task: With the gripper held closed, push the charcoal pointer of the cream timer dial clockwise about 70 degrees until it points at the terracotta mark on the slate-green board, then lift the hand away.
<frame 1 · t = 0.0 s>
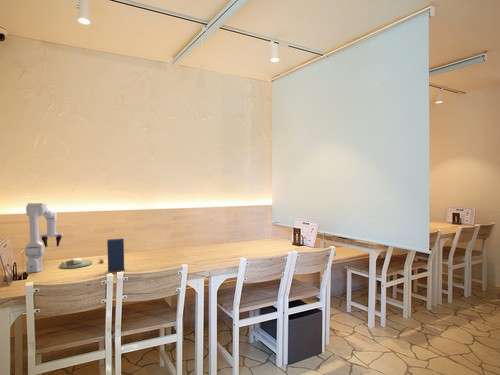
hand: (52, 246, 234), 10 cm above the table, fingers open, 7 cm apart
dial board: (76, 264, 220), on the table
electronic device: (116, 270, 205), on the table
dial: (73, 261, 218), point 3 cm above the table, hinge at 0.0°
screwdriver: (101, 261, 228), on the table
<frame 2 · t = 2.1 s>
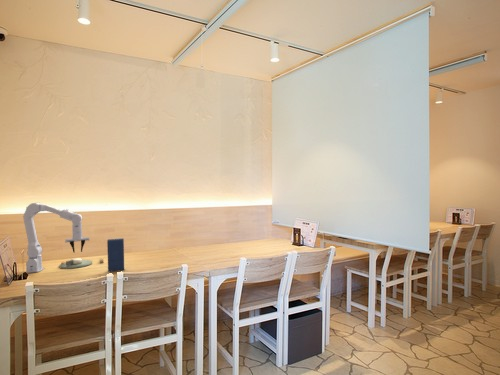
hand: (77, 252, 215), 10 cm above the table, fingers open, 4 cm apart
nothing on the table moved.
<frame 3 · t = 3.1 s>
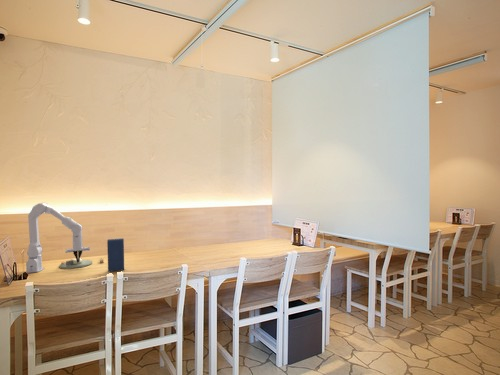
hand: (78, 262, 215), 3 cm above the table, fingers closed
nothing on the table moved.
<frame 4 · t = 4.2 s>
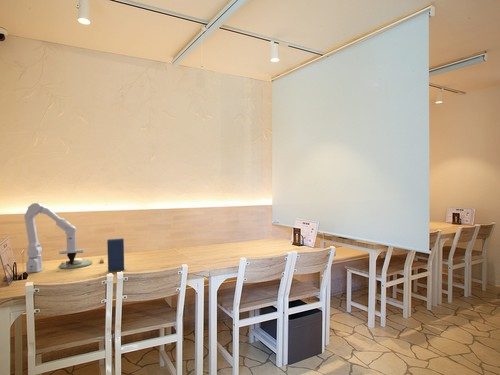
hand: (72, 264, 214), 2 cm above the table, fingers closed, pressing on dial
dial: (73, 261, 218), point 3 cm above the table, hinge at -0.2°, touching gripper
everything else where it was.
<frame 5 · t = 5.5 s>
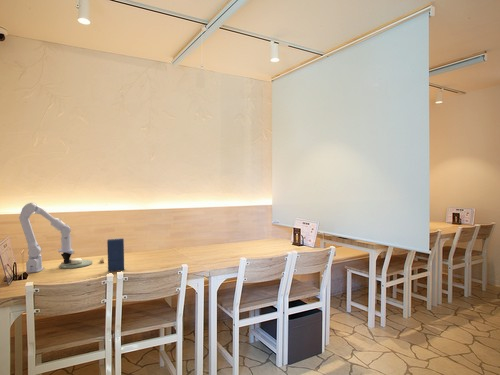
hand: (66, 263, 215), 2 cm above the table, fingers closed, pressing on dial
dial: (72, 261, 219), point 3 cm above the table, hinge at -43.1°, touching gripper
everything else where it was.
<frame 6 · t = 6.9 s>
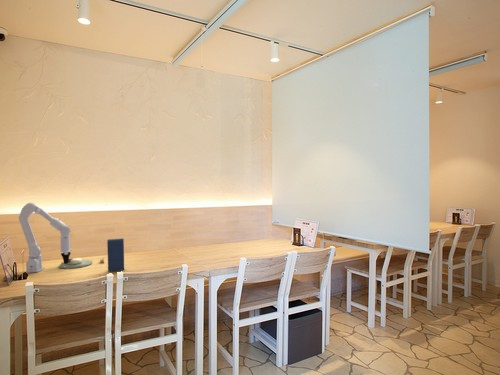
hand: (65, 263, 216), 2 cm above the table, fingers closed
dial: (73, 260, 220), point 3 cm above the table, hinge at -77.2°
everything else where it was.
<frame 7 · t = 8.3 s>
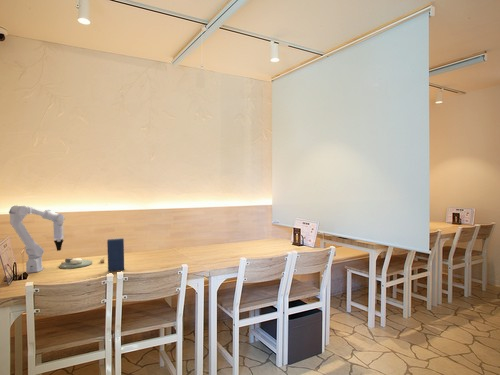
hand: (58, 250, 221), 10 cm above the table, fingers closed
nothing on the table moved.
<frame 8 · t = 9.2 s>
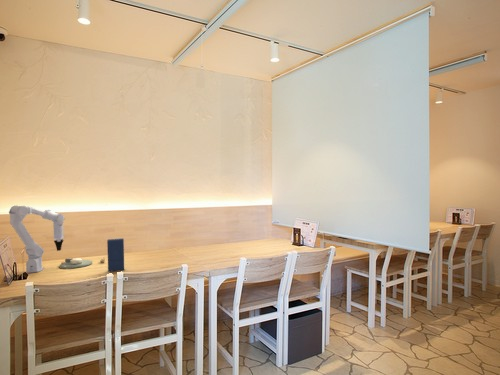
hand: (58, 250, 221), 10 cm above the table, fingers closed
at the end: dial at -77° (first picture: +0°); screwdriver moved 1.1 cm from its start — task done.
